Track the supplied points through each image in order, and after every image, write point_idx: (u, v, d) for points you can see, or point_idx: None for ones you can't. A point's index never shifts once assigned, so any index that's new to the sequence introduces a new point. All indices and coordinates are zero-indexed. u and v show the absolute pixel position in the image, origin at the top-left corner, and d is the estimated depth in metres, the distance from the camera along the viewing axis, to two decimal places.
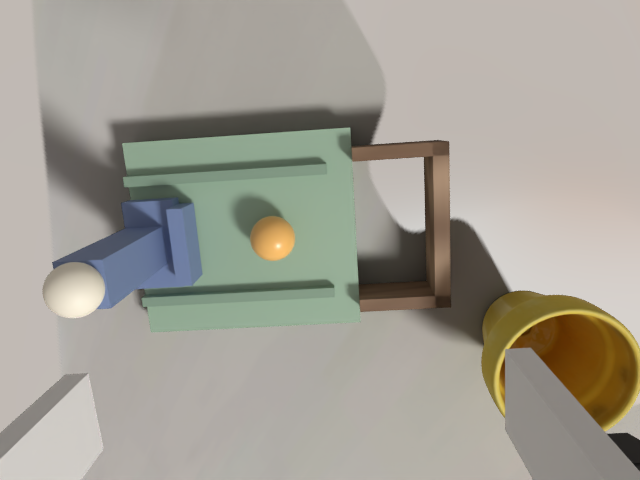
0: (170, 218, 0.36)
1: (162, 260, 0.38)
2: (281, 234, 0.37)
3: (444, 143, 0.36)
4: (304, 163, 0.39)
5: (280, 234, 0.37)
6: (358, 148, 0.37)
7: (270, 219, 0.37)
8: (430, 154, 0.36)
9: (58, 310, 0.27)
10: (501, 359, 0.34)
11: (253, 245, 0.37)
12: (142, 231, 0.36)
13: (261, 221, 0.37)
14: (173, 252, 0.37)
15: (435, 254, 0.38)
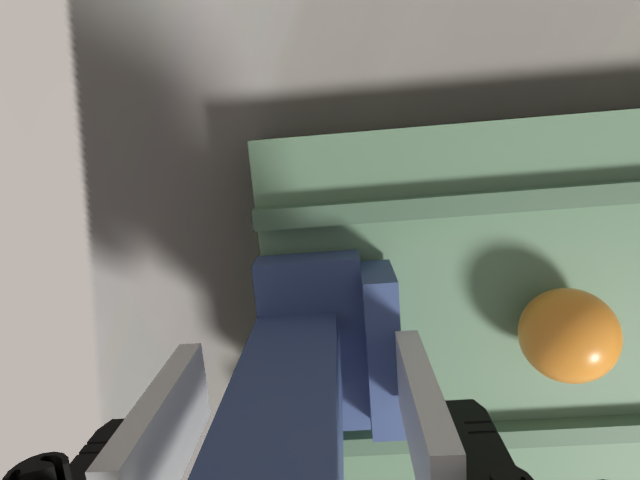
0: (370, 303, 0.17)
1: (341, 386, 0.18)
2: (614, 334, 0.17)
3: None
4: (625, 177, 0.19)
5: (612, 335, 0.17)
6: None
7: (579, 299, 0.17)
8: None
9: None
10: None
11: (542, 355, 0.17)
12: (309, 333, 0.17)
13: (558, 303, 0.17)
14: (372, 375, 0.17)
15: None
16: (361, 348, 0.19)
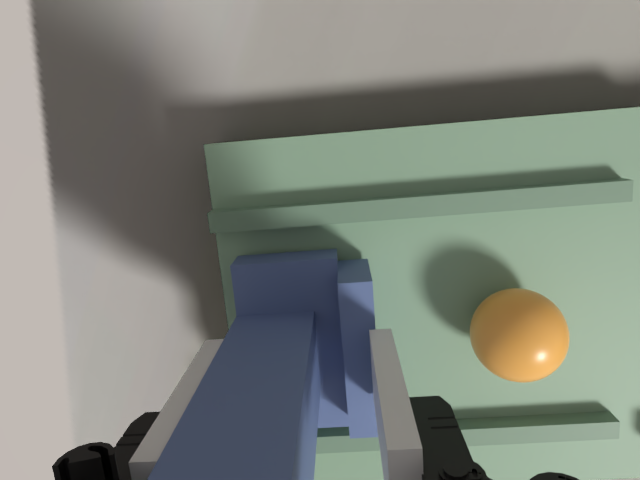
0: (345, 302, 0.17)
1: (318, 384, 0.18)
2: (558, 334, 0.17)
3: None
4: (575, 179, 0.19)
5: (556, 334, 0.17)
6: None
7: (525, 299, 0.18)
8: None
9: None
10: None
11: (490, 354, 0.18)
12: (285, 331, 0.17)
13: (505, 303, 0.18)
14: (348, 372, 0.18)
15: None
16: (339, 346, 0.19)
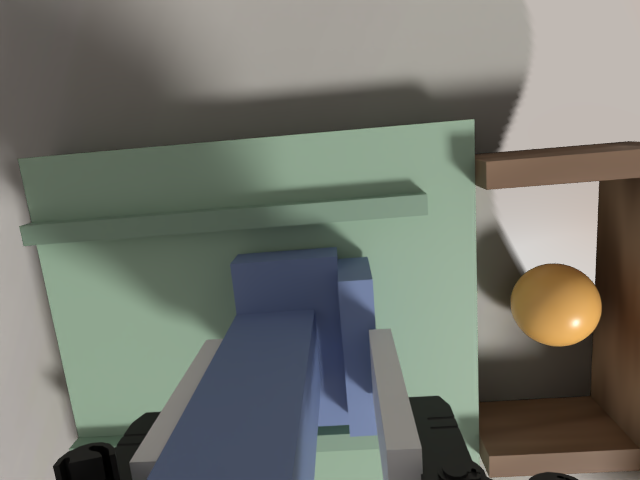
0: (345, 300, 0.17)
1: (319, 382, 0.18)
2: (557, 305, 0.19)
3: None
4: (379, 192, 0.19)
5: (554, 305, 0.19)
6: (500, 162, 0.17)
7: (548, 271, 0.20)
8: None
9: None
10: None
11: (511, 308, 0.22)
12: (286, 329, 0.17)
13: (532, 271, 0.21)
14: (348, 370, 0.18)
15: None
16: (339, 344, 0.19)
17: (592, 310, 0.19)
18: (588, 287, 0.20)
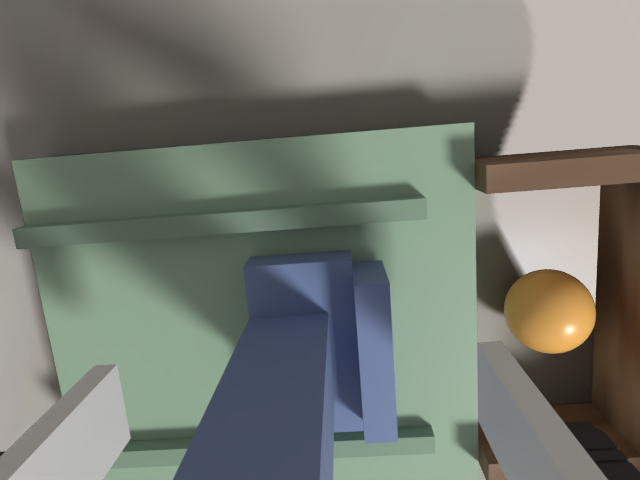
0: (362, 304, 0.17)
1: (333, 388, 0.18)
2: (546, 312, 0.19)
3: None
4: (378, 196, 0.19)
5: (543, 311, 0.19)
6: (500, 166, 0.17)
7: (540, 277, 0.20)
8: None
9: None
10: None
11: (504, 313, 0.21)
12: (301, 334, 0.17)
13: (525, 276, 0.21)
14: (364, 376, 0.17)
15: None
16: (353, 349, 0.19)
17: (583, 318, 0.19)
18: (580, 294, 0.19)
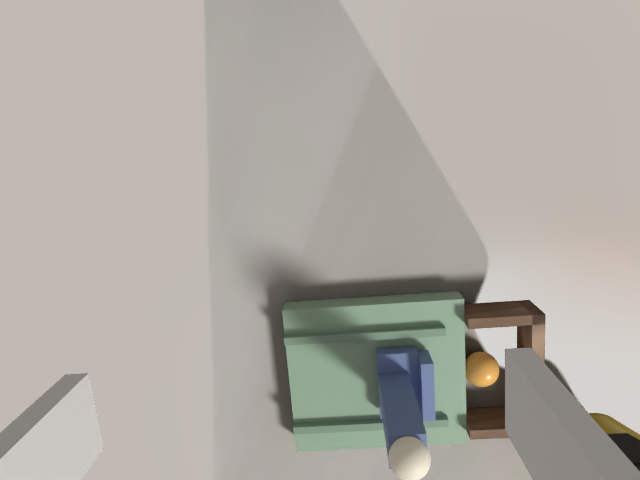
0: (423, 371, 0.46)
1: None
2: (467, 367, 0.50)
3: (541, 315, 0.47)
4: (426, 325, 0.49)
5: (466, 366, 0.50)
6: (473, 319, 0.47)
7: (474, 354, 0.50)
8: (530, 323, 0.47)
9: (408, 479, 0.37)
10: None
11: None
12: (401, 381, 0.46)
13: None
14: (423, 396, 0.47)
15: None
16: (417, 385, 0.48)
17: (479, 374, 0.49)
18: (482, 365, 0.49)
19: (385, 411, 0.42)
